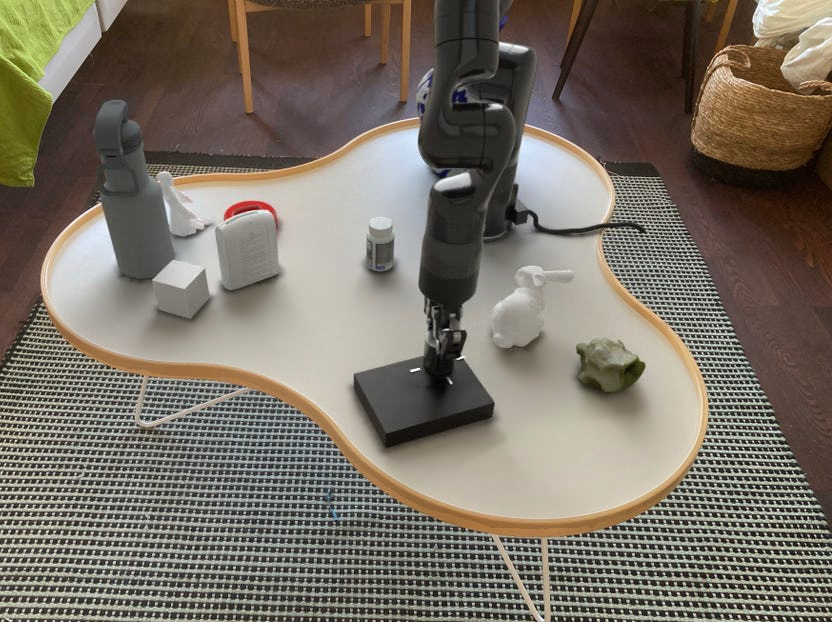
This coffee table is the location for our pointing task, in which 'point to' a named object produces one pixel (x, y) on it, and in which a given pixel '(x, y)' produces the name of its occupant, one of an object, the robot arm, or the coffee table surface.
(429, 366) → the knob
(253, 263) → the photo printer
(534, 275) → the rabbit
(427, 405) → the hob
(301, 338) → the coffee table surface
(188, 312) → the white cube
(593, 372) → the greyish green lumpy piece
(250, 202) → the decorative ornament
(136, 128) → the water bottle
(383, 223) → the pill bottle
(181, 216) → the figurine
